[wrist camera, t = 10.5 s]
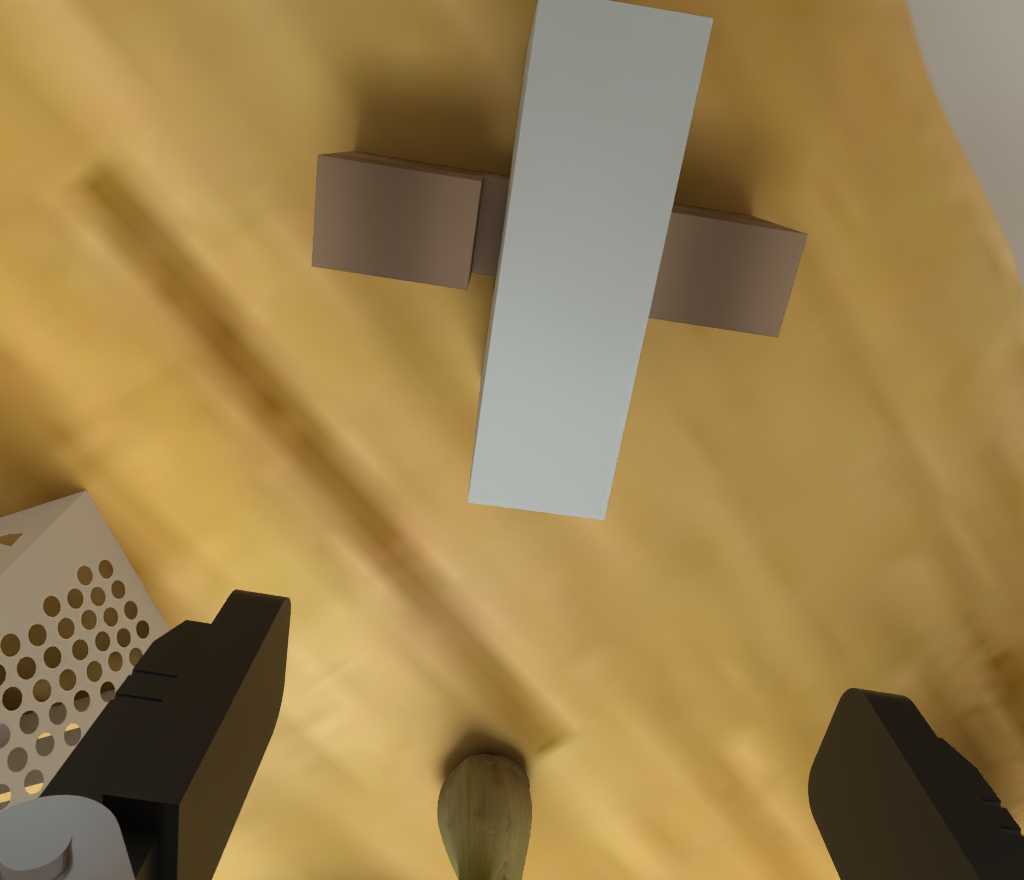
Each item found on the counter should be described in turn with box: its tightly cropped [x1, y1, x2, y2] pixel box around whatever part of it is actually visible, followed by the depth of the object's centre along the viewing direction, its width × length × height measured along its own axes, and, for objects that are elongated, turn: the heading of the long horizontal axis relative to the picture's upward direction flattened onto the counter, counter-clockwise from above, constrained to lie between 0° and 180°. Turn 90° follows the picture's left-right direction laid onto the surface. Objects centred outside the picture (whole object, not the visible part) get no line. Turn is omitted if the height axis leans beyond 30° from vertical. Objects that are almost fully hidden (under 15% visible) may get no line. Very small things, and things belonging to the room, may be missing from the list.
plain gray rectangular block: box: [468, 0, 714, 520], centre depth 25 cm, size 4×13×12 cm, turn 171°
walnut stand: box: [312, 151, 807, 337], centre depth 28 cm, size 16×4×6 cm, turn 81°
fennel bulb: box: [437, 754, 532, 880], centre depth 36 cm, size 6×5×12 cm
